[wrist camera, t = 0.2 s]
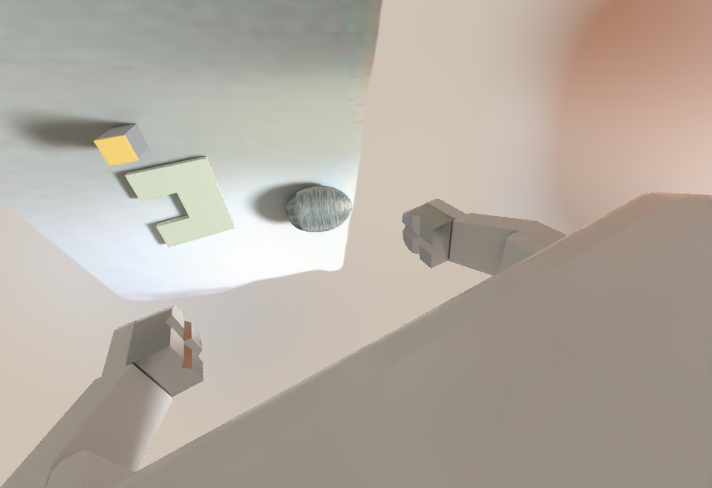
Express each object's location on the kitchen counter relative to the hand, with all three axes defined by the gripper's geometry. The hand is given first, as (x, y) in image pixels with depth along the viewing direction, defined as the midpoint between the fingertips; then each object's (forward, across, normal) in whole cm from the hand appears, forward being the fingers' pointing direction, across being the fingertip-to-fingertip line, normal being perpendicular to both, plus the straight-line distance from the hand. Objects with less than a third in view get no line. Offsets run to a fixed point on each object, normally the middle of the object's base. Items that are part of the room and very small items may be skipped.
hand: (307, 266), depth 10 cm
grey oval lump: (+47, -12, +22) cm, 53 cm away
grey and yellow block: (+48, +13, +2) cm, 49 cm away
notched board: (+47, +11, +14) cm, 50 cm away
